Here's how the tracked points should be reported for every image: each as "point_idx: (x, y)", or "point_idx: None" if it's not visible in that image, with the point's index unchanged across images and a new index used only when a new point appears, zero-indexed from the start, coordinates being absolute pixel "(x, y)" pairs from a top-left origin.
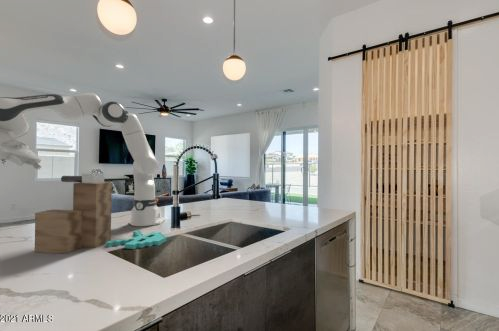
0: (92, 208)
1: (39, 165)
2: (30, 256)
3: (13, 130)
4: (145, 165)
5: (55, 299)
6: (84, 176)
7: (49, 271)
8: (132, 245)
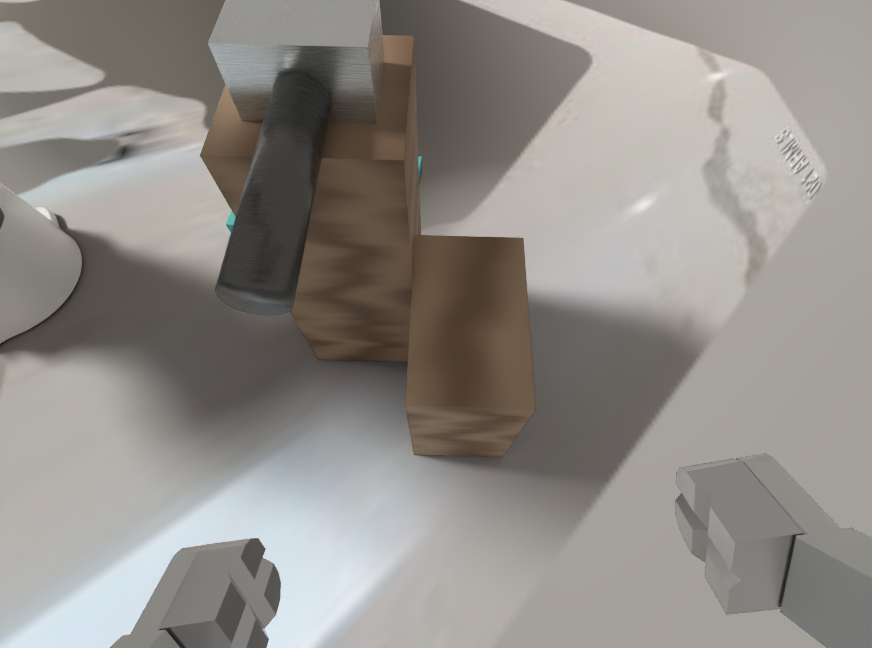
0: (417, 180)
1: (199, 565)
2: (549, 426)
3: None
4: None
5: (737, 165)
6: (373, 57)
7: (637, 267)
8: (421, 163)
